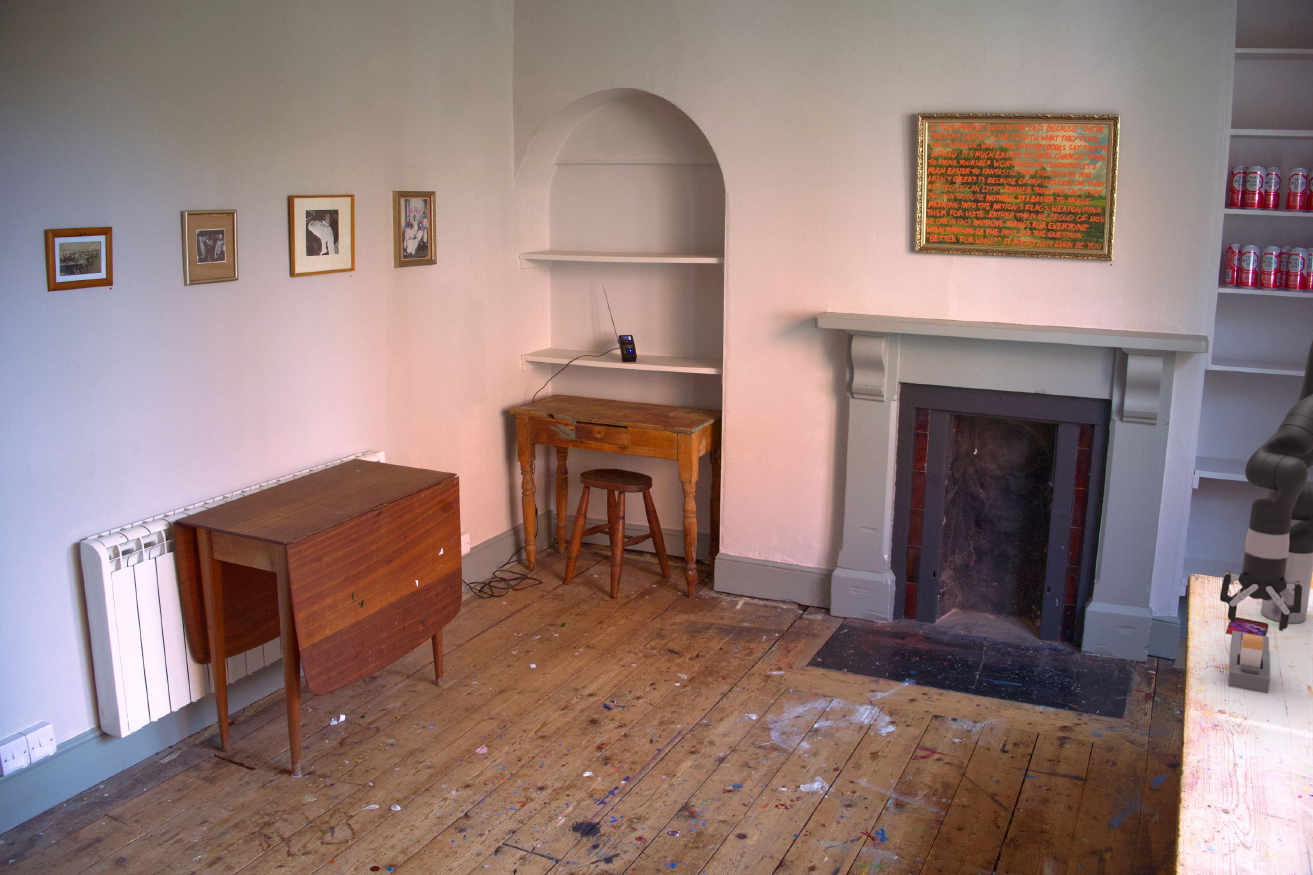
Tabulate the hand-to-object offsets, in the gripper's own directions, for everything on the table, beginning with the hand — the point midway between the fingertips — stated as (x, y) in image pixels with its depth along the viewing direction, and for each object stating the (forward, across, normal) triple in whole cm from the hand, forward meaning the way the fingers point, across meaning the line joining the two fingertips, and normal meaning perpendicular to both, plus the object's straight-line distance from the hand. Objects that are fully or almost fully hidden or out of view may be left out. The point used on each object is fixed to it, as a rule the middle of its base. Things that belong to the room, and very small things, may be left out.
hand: (1256, 625), depth 213 cm
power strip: (+12, 0, +4) cm, 13 cm away
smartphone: (+12, -1, +25) cm, 28 cm away
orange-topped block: (+11, 0, 0) cm, 11 cm away
